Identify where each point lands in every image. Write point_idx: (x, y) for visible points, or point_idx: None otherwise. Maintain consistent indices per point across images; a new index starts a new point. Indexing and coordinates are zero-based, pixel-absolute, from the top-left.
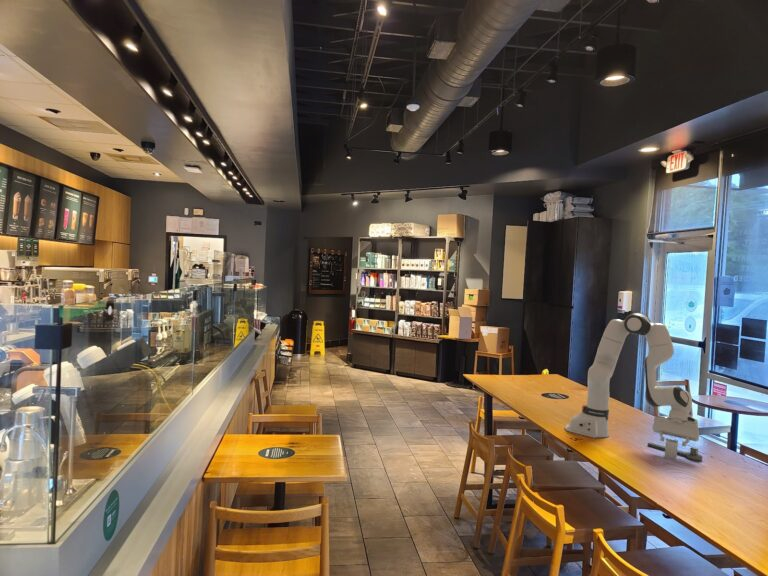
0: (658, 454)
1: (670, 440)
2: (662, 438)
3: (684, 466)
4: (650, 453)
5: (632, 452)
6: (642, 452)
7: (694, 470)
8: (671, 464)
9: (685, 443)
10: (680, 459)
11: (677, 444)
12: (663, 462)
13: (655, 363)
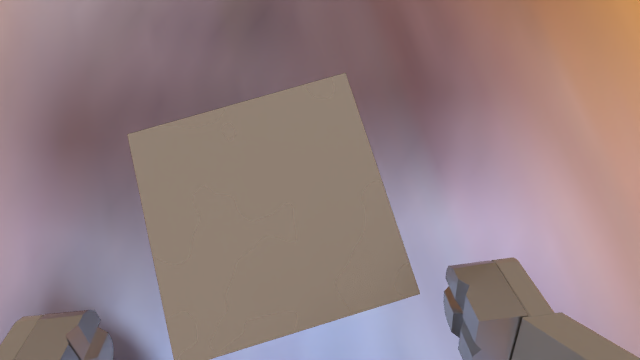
0: (425, 232)
1: (299, 220)
2: (487, 277)
3: (112, 68)
4: (496, 181)
5: (621, 31)
6: (564, 131)
7: (16, 35)
8: (222, 13)
9: (6, 343)
10: None
11: (143, 141)
12: (294, 3)
13: None
